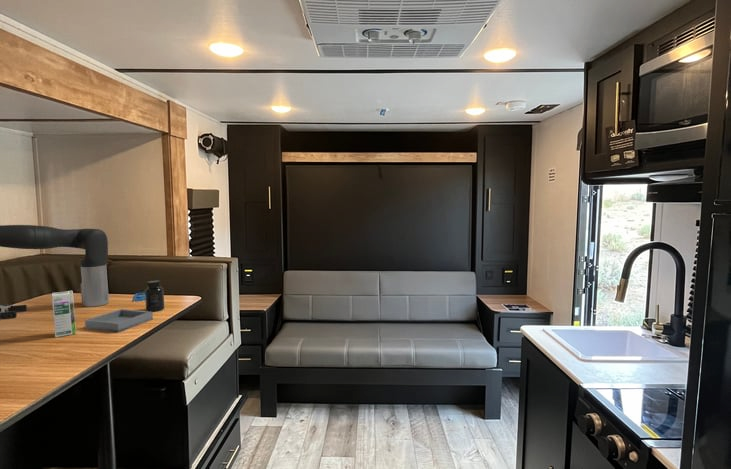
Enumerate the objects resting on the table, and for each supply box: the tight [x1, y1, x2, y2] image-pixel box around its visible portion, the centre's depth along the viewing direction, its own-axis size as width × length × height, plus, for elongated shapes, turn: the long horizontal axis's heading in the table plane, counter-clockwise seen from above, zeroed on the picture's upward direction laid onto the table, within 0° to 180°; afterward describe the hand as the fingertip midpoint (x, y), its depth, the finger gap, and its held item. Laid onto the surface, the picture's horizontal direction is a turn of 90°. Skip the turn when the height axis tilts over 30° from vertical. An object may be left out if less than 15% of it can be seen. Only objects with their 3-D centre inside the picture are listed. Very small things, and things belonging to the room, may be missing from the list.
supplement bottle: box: [144, 280, 165, 313], centre depth 164 cm, size 7×7×12 cm
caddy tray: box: [84, 308, 154, 333], centre depth 146 cm, size 15×15×3 cm
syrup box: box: [51, 290, 77, 338], centre depth 135 cm, size 6×6×14 cm
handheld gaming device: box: [132, 292, 145, 302], centre depth 186 cm, size 8×1×15 cm
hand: (21, 311), depth 130 cm, fingers open, 8 cm apart
